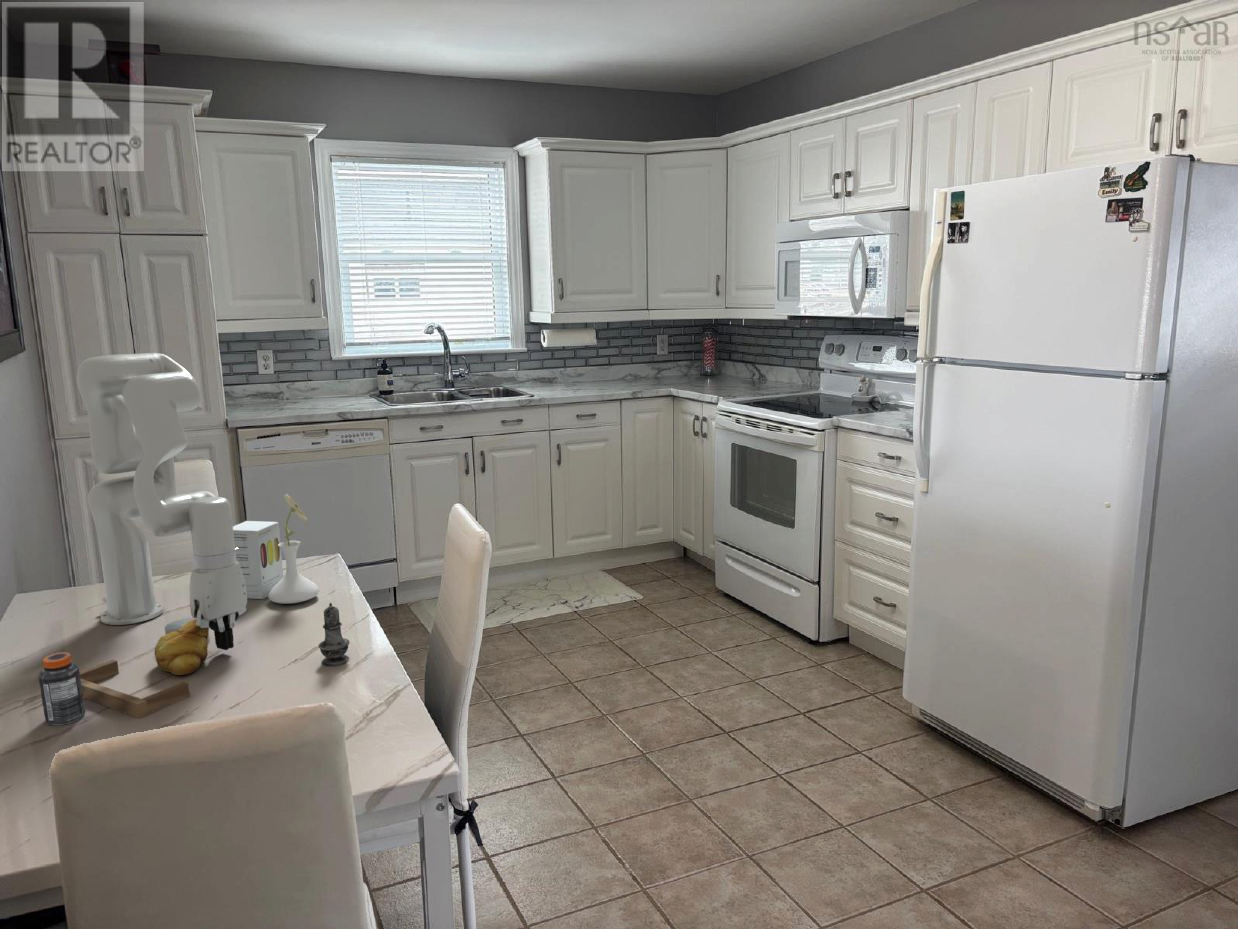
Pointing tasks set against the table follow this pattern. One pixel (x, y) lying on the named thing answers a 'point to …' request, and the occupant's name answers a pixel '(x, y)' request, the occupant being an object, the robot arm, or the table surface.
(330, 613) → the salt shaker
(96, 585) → the table surface
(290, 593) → the flower in vase
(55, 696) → the pill bottle
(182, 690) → the brown angled bar
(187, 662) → the bread roll
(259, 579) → the supplement box
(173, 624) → the grey glossy rounded piece
